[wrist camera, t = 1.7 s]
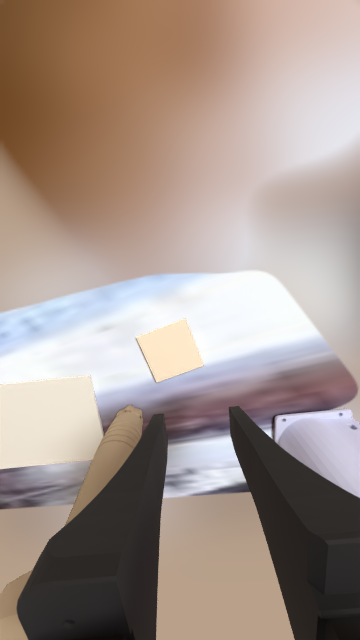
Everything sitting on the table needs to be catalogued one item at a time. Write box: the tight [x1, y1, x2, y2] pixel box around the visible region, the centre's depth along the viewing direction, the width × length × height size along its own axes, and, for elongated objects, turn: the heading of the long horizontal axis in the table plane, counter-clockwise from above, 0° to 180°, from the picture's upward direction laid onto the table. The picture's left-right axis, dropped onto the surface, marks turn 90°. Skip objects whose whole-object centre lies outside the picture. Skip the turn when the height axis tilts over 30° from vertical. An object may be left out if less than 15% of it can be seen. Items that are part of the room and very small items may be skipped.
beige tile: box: [136, 318, 204, 382], centre depth 21 cm, size 6×6×1 cm
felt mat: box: [0, 375, 104, 469], centre depth 23 cm, size 20×12×1 cm, turn 96°
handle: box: [0, 405, 143, 640], centre depth 16 cm, size 5×6×15 cm
